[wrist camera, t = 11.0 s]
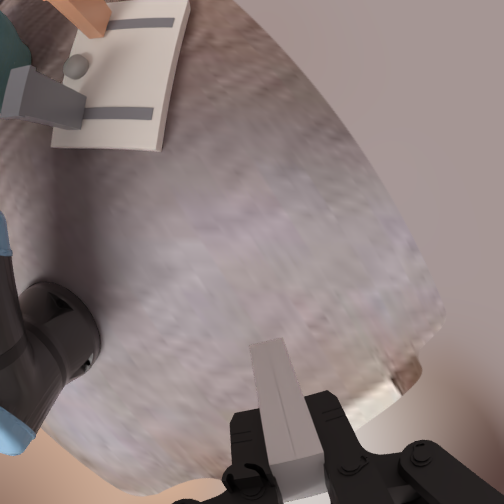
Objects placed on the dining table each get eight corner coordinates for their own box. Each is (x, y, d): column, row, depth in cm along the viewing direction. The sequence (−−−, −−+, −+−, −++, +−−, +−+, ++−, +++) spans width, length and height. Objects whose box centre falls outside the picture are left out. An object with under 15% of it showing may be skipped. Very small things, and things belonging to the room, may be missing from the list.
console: (62, 148, 31) (44, 146, 27) (94, 15, 27) (82, 1, 22) (161, 151, 33) (152, 148, 29) (190, 9, 28) (187, -8, 24)
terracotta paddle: (87, 40, 25) (39, -3, 13) (97, 12, 24) (56, -36, 12) (104, 38, 25) (59, -9, 13) (113, 10, 24) (76, -42, 12)
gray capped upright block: (65, 131, 28) (-1, 118, 16) (71, 96, 27) (11, 69, 15) (82, 131, 28) (18, 115, 16) (88, 95, 27) (30, 64, 15)
